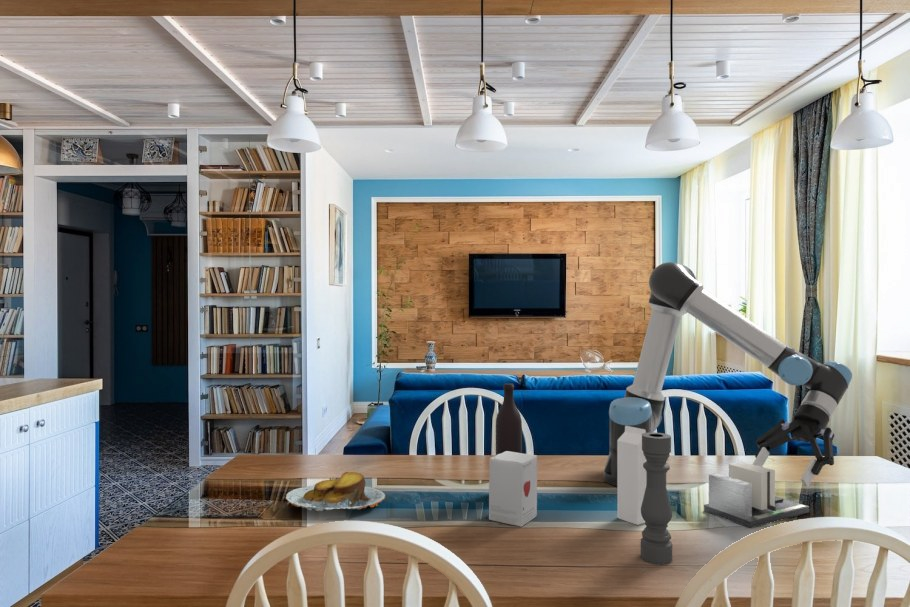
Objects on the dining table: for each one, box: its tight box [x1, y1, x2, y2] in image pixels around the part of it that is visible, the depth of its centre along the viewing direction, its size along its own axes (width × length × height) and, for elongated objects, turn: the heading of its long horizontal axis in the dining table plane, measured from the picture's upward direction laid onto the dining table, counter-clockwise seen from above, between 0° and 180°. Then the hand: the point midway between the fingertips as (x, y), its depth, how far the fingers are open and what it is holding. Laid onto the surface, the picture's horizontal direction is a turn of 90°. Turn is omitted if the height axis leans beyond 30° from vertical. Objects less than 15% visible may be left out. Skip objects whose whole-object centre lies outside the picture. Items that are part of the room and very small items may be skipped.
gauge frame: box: [703, 472, 810, 529], centre depth 152 cm, size 22×13×10 cm, turn 118°
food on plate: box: [285, 471, 386, 512], centre depth 159 cm, size 25×25×7 cm
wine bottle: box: [495, 383, 523, 456], centre depth 165 cm, size 7×7×30 cm
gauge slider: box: [728, 461, 776, 511], centre depth 150 cm, size 5×11×9 cm, turn 28°
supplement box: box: [488, 451, 538, 528], centre depth 147 cm, size 9×9×15 cm
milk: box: [616, 426, 647, 526], centre depth 147 cm, size 6×6×22 cm
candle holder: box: [640, 431, 673, 566], centre depth 124 cm, size 6×6×25 cm
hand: (778, 476), depth 156 cm, fingers open, 13 cm apart
